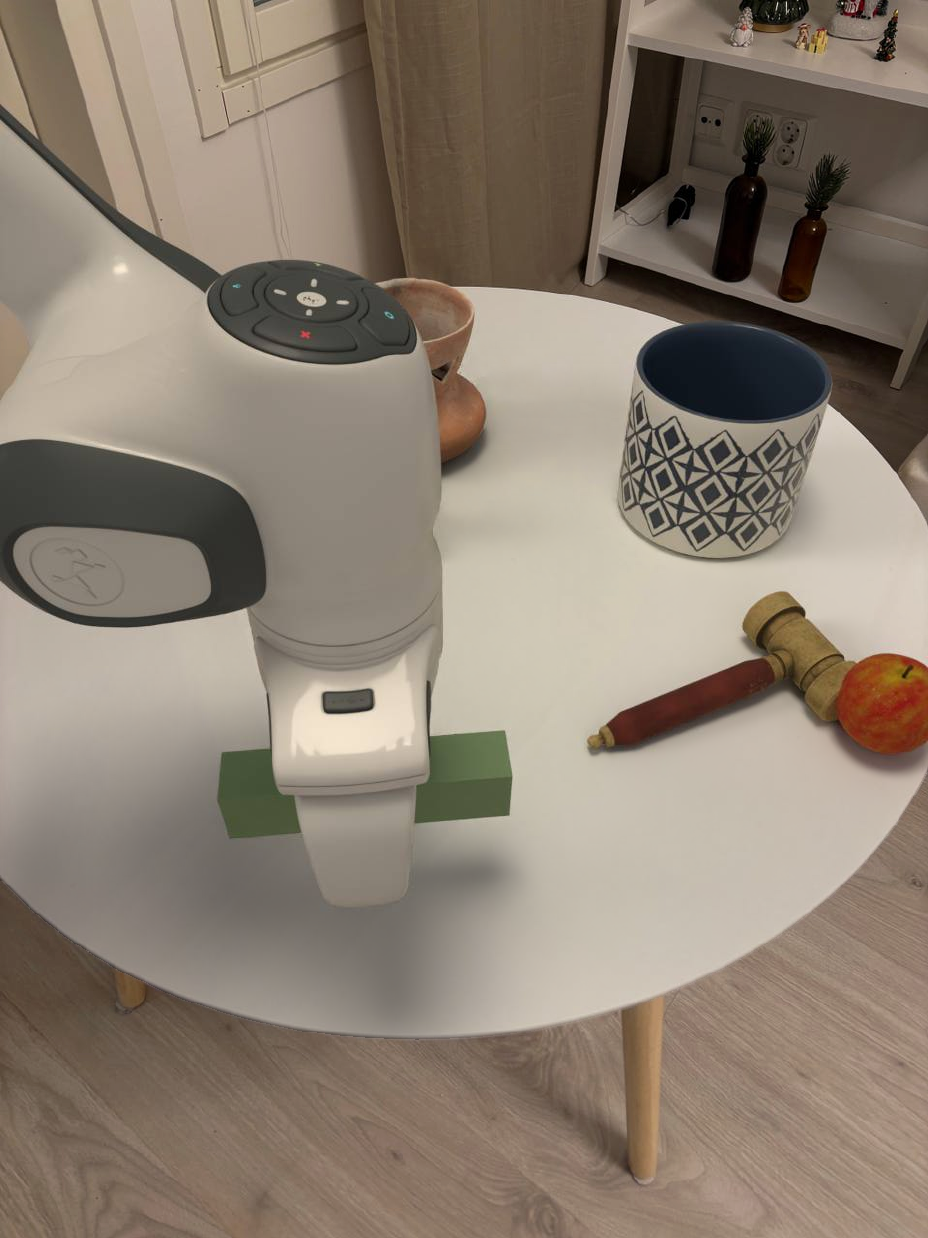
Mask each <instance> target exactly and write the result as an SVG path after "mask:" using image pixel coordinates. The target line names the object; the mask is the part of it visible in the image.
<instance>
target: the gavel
mask: <svg viewBox="0 0 928 1238" xmlns="http://www.w3.org/2000/svg"><path fill="white" fill-rule="evenodd" d="M806 614H807V613H806V609H805V608H804V607H803V606H802V605H801V604H800V603H799V602H798V601H797V600H796V599H795V598H794V596H792V594H791V593H789V592H787V591H783V590H780V591H775V592H772V593H770V594H767V595H765V596H763V597H762V598H760V599H759V600H757V601H756V602H755V603H754V604H753V605H752V606H751V607H750V608H749V610H748V611H747V612H746V614H745V616H744V618H743V620H742V625H741V628H742V631H743V632H744V633H745V635H746V636H747V637H748V638H749V639H750V640H751V642H753V644H754V645H755V647H757V648H758V649H759V650H760V649H761V650H767V653H768V654H766V655H764V656H762V657H758V658H753V659H749V660H745V661H742V662H740V663H737V664H735V665H733V666H730V667H727V668H725V669H722V670H720V671H717V672H715V673H712V674H710V675H708V676H705V677H703V678H700V679H698V680H695V681H692V682H690V683H688V684H685V685H683V686H680V687H678V688H675V689H673V690H671V691H668V692H666V693H663V694H661V695H659V696H656V697H654V698H651V699H649V700H646V701H644V702H641V703H639V704H636V705H633V706H632V707H629V708H627V709H624V710H621V711H619V712H618V713H617V714H615V716H614V717H613V718H611V719H610V720H609V721H608V722H607V723H606V724H605V725H603V726H600V728H599V730H598V733H597V734H591V735H590V736H589V737H588V738H586V739H587V740H586V742H587V745H588V746H589V748H590V749H592V750H595V749H596V750H597V749H599V748H600V747H601V746H602V745H604V746H605V747H606V748H611V747H617V746H619V747H620V746H634V745H637V744H639V743H641V742H643V741H647V740H649V739H651V738H653V737H655V736H658V735H661V734H663V733H665V732H668V731H670V730H673V729H674V728H677V727H680V726H682V725H685V724H687V723H689V722H692V721H694V720H696V719H699V718H701V717H704V716H707V715H709V714H711V713H713V712H716V711H718V710H721V709H723V708H725V707H727V706H730V705H733V704H735V703H737V702H739V701H742V700H744V699H747V698H749V697H752V696H754V695H756V694H759V693H761V692H762V691H764V690H766V689H767V688H769V687H770V686H771V685H774V684H775V683H778V682H780V681H782V680H786V679H788V678H789V679H791V681H792V682H793V683H794V684H795V685H796V686H797V688H798V689H799V690H800V691H802V692H805V695H804V701H805V703H806V704H807V705H808V706H809V707H810V709H811V710H812V711H813V712H814V713H815V714H816V715H817V717H818V718H819V719H820V720H821V721H823V722H828V723H831V722H836V721H839V719H838V715H837V710H836V701H837V697H838V695H839V692H840V688H841V685H842V682H843V680H844V678H845V675H846V674H847V673H848V671H849V670H850V669H851V668H852V667H853V666H854V665H856V664H857V663H858V662H856V661H855V660H845V656H844V655H843V653H842V652H841V651H839V650H838V648H837V647H836V646H834V644H832V642H831V641H830V640H829V639H828V638H827V637H826V636H825V635H824V634H823V633H822V631H820V630H819V629H818V628H817V626H816V625H815V624H814V623H813V622H812V621H811V620H810V619H809V618H806Z"/></svg>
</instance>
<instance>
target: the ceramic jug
mask: <svg viewBox="0 0 928 1238" xmlns="http://www.w3.org/2000/svg"><path fill="white" fill-rule="evenodd" d="M373 283H374V284H376V285H378V286H379V287H381V288H382V289H384V290H385V291H386V292H388V293H389V294H390V295H391V296H393V297H394V298H395V299H396V300H397V301H398V302H399V303H400V304H401V305H402V306H403V308H404V309H405V310H406V311H407V313H408V314H409V315H410V317H411V318H412V320H413V322H414V323H415V325H416V327H417V329H418V331H419V333H420V336H421V339H422V341H423V344H424V346H425V349H426V352H427V356H428V359H429V363H430V368H431V373H432V378H433V384H434V390H435V397H436V404H437V412H438V423H439V435H440V454H441V464H442V463H444V462H447V461H449V460H452V459H454V458H456V457H458V456H459V455H461V454H463V453H464V452H465V451H467V450H468V449H469V448H470V447H471V446H472V445H474V443H475V442H476V441H477V440H478V438H479V437H480V435H481V434H482V431H483V429H484V426H485V424H486V419H487V418H486V417H487V407H486V403H485V400H484V397H483V395H482V394H481V392H480V391H479V389H478V388H477V387H476V385H474V384H473V383H472V382H471V381H470V380H469V379H468V378H466V377H464V376H463V375H462V374H460V373H458V372H459V369H460V367H461V364H462V362H463V359H464V357H465V354H466V352H467V349H468V347H469V343H470V340H471V336H472V332H473V328H474V324H475V323H474V322H475V306H474V305H473V303H472V301H471V300H470V298H468V297H467V296H466V295H465V294H464V292H462V291H460V290H459V289H457V288H455V287H454V286H453V287H452V286H450V285H449V284H446V283H443V282H440V281H438V280H434V279H426V278H420V279H419V278H416V277H402V278H392V279H388V280H385V281H380V282H373Z"/></svg>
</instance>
